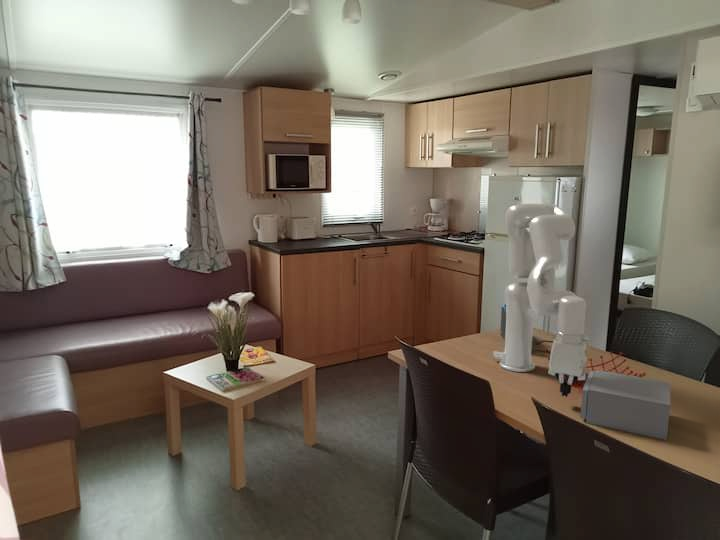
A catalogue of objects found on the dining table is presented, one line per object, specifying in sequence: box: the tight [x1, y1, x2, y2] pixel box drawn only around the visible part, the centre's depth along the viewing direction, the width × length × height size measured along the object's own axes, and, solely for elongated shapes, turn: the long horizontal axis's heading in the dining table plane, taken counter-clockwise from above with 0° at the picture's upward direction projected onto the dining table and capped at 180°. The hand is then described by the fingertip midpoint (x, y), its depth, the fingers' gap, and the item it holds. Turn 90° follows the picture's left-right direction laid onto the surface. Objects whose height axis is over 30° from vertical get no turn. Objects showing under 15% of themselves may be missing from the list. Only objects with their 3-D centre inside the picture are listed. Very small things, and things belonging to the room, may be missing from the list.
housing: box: [585, 369, 671, 441], centre depth 151 cm, size 20×18×10 cm
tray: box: [579, 370, 595, 420], centre depth 152 cm, size 19×17×8 cm
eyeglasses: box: [531, 339, 554, 355], centre depth 210 cm, size 15×15×5 cm
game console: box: [499, 302, 506, 341], centre depth 221 cm, size 28×6×15 cm, turn 178°
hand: (565, 394), depth 160 cm, fingers closed
